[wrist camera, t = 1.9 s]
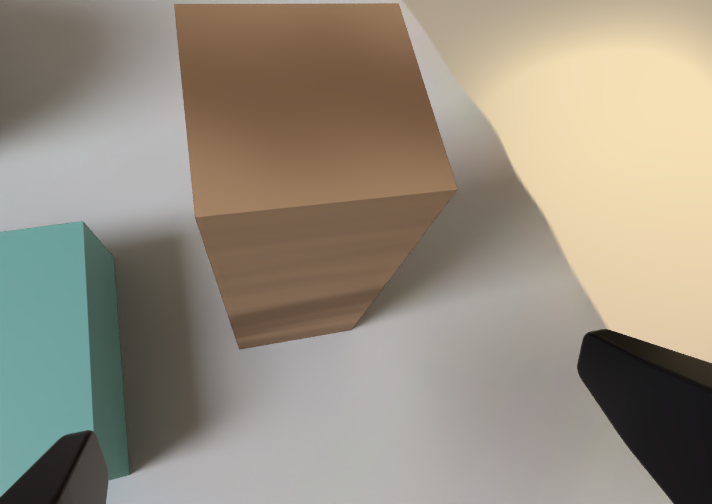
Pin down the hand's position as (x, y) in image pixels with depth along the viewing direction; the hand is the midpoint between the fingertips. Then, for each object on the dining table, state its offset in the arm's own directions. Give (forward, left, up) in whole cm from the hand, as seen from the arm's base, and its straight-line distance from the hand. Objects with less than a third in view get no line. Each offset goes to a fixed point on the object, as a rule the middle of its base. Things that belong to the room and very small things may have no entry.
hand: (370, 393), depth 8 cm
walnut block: (+5, -2, -12) cm, 13 cm away
